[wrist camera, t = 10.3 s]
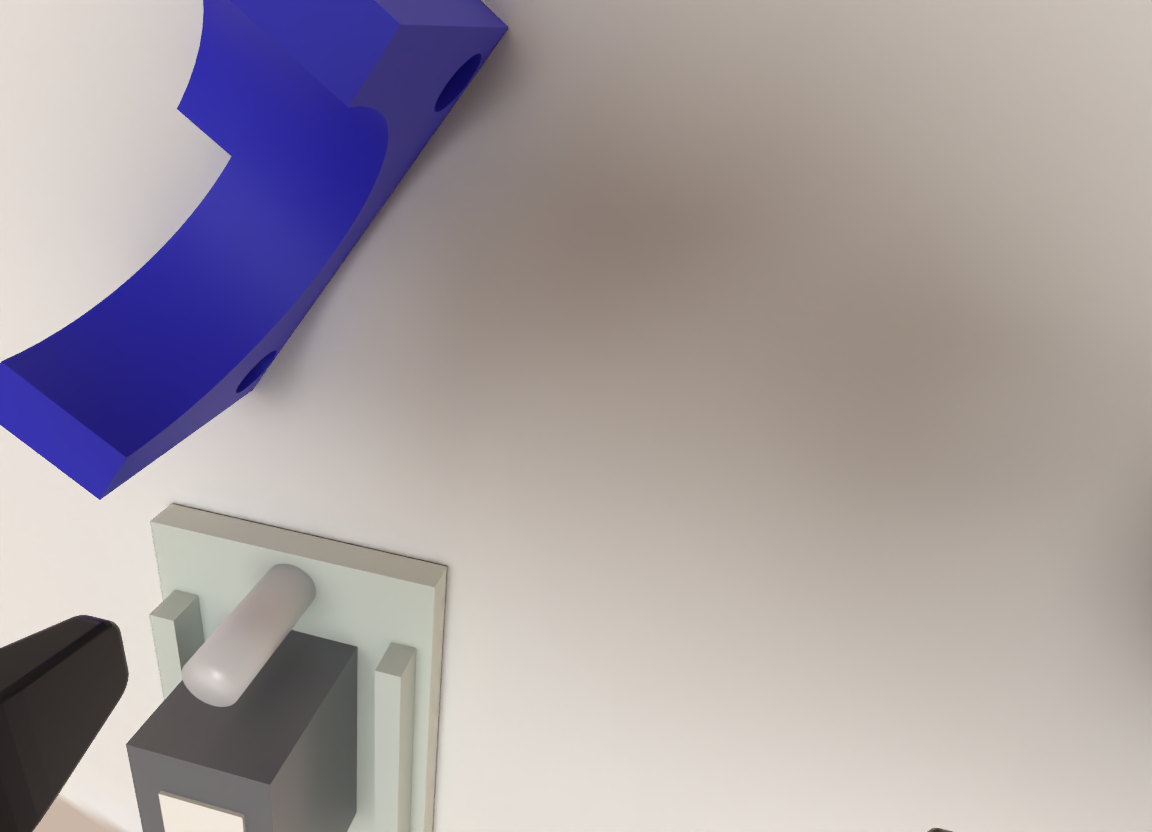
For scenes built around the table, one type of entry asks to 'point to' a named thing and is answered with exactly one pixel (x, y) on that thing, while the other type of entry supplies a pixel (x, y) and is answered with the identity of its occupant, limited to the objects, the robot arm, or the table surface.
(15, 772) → the robot arm
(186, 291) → the cable clip
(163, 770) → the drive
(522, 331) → the table surface
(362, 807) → the pegged rail plate
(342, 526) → the table surface
